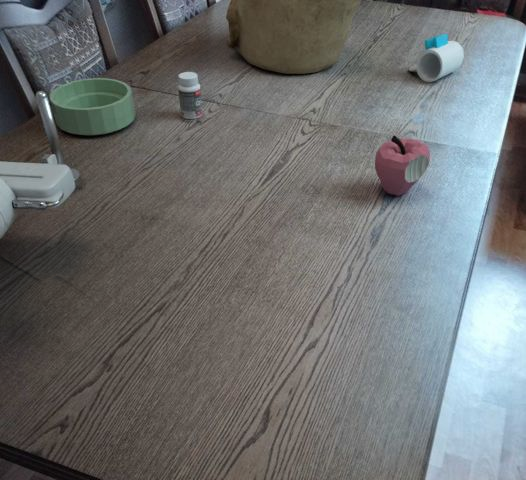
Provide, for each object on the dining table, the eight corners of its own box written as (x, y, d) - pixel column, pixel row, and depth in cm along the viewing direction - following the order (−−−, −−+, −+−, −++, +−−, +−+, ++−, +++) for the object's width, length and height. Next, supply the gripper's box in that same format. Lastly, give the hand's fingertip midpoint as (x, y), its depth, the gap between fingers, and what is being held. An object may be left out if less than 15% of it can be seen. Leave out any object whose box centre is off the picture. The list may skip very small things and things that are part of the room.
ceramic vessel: (265, 26, 165) (265, -78, 147) (385, 59, 146) (403, -56, 128) (195, 51, 150) (187, -62, 132) (320, 92, 131) (329, -34, 112)
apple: (387, 208, 95) (397, 153, 88) (360, 185, 101) (368, 131, 93) (432, 196, 98) (445, 141, 91) (403, 174, 103) (414, 121, 96)
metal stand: (43, 184, 100) (14, 92, 89) (68, 172, 103) (43, 82, 92) (63, 194, 98) (36, 101, 86) (88, 182, 101) (65, 90, 89)
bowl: (41, 124, 118) (33, 95, 114) (101, 99, 127) (95, 72, 123) (92, 146, 111) (85, 116, 107) (151, 118, 120) (147, 90, 116)
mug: (466, 26, 133) (439, 37, 127) (470, 66, 138) (444, 79, 132) (423, 37, 142) (397, 48, 136) (428, 75, 146) (403, 87, 140)
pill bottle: (201, 119, 120) (198, 79, 114) (179, 119, 120) (175, 79, 114) (203, 110, 123) (200, 71, 117) (182, 110, 123) (178, 70, 117)
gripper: (48, 187, 73) (83, 140, 82) (-99, 179, 74) (-48, 134, 84) (61, 228, 77) (92, 179, 87) (-78, 220, 78) (-32, 172, 88)
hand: (22, 156), depth 85 cm, fingers open, 8 cm apart
